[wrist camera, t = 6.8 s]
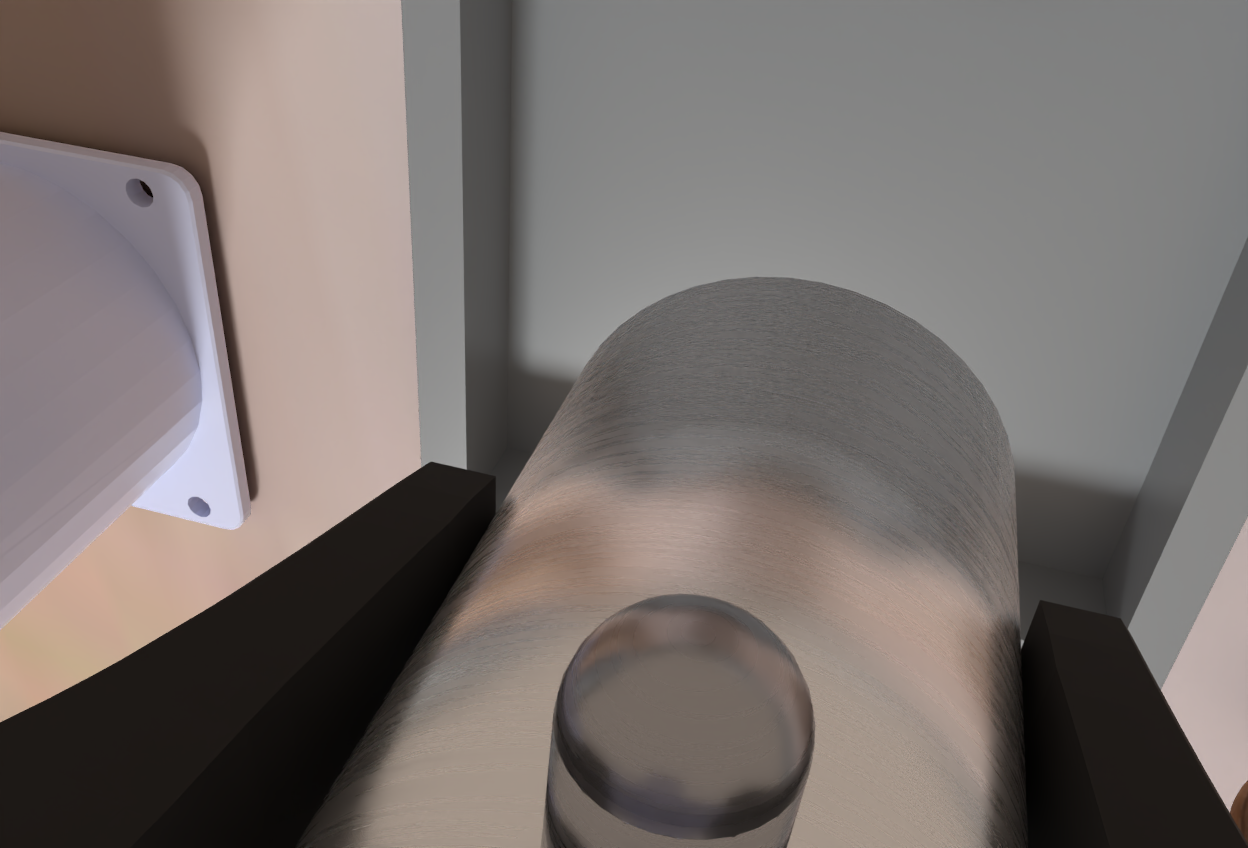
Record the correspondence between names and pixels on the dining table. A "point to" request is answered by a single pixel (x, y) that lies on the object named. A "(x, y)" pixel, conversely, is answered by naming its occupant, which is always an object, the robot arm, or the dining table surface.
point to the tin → (1241, 810)
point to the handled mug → (726, 605)
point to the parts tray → (868, 233)
